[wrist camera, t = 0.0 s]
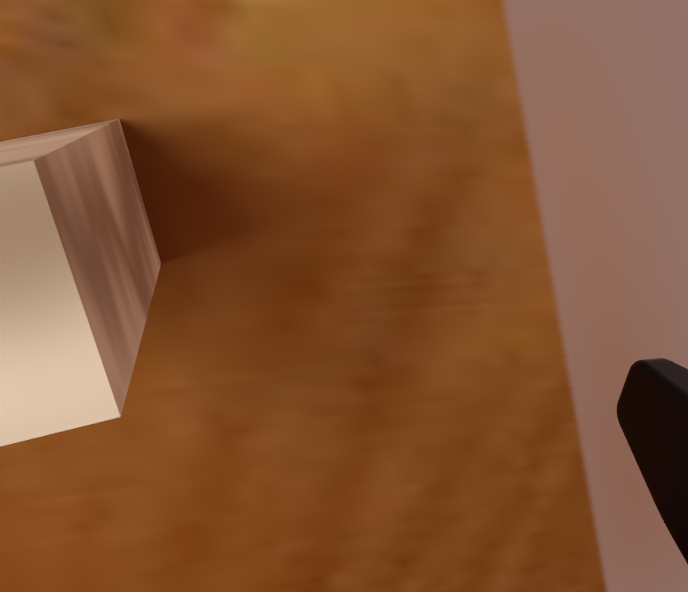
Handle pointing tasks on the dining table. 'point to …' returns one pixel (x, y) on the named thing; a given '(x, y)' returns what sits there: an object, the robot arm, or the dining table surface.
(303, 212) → the dining table surface
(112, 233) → the birch block
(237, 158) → the dining table surface
